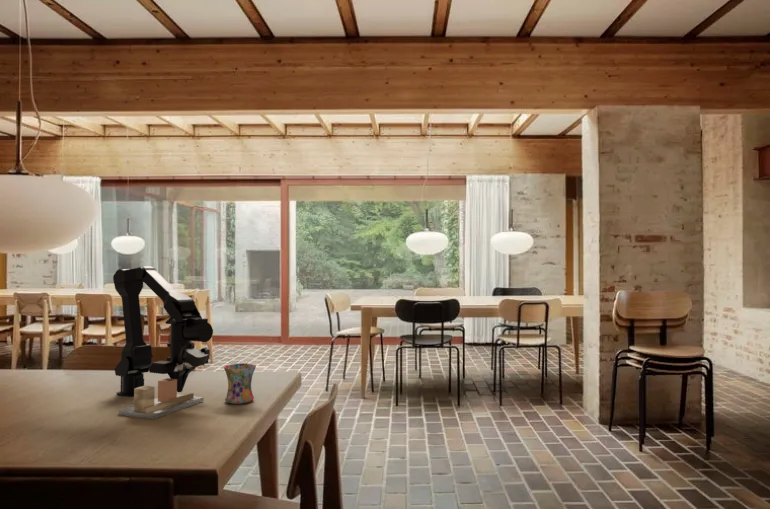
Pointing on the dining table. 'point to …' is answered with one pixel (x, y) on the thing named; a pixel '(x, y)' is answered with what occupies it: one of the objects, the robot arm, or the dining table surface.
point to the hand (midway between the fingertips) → (179, 392)
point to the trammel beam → (146, 399)
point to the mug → (239, 383)
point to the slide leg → (167, 389)
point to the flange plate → (162, 411)
